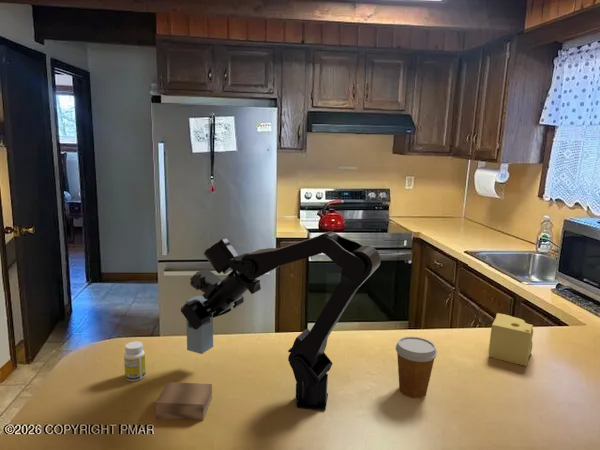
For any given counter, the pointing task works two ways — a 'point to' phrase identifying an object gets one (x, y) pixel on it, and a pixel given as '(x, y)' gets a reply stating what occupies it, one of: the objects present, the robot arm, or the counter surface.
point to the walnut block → (184, 401)
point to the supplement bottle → (134, 361)
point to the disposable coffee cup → (415, 365)
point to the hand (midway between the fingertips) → (195, 322)
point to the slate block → (200, 333)
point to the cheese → (510, 339)
